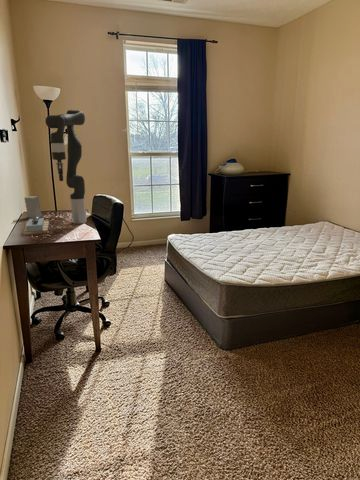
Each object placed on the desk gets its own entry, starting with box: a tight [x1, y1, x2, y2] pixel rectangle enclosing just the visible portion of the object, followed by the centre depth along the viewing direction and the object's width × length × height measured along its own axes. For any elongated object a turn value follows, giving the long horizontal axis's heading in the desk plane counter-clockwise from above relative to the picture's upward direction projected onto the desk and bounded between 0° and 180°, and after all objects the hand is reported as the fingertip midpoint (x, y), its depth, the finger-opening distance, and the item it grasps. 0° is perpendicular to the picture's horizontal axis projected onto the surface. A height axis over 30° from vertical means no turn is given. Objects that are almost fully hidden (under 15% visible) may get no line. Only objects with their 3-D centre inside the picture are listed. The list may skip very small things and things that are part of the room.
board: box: [22, 219, 50, 235], centre depth 213 cm, size 30×14×2 cm, turn 20°
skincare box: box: [24, 195, 43, 219], centre depth 243 cm, size 8×7×16 cm
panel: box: [25, 217, 45, 232], centre depth 208 cm, size 21×9×4 cm, turn 20°
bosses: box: [32, 217, 40, 225], centre depth 211 cm, size 12×4×5 cm, turn 20°
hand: (61, 180), depth 195 cm, fingers closed
